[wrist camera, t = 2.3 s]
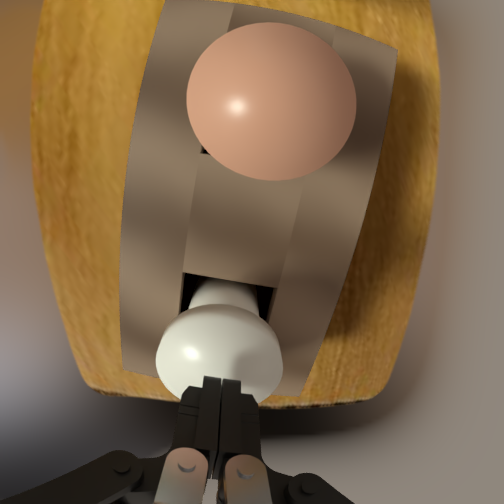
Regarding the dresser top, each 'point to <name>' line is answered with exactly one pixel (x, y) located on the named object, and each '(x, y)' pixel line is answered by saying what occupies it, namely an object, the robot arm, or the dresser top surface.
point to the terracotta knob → (271, 101)
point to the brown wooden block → (241, 196)
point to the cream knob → (220, 341)
